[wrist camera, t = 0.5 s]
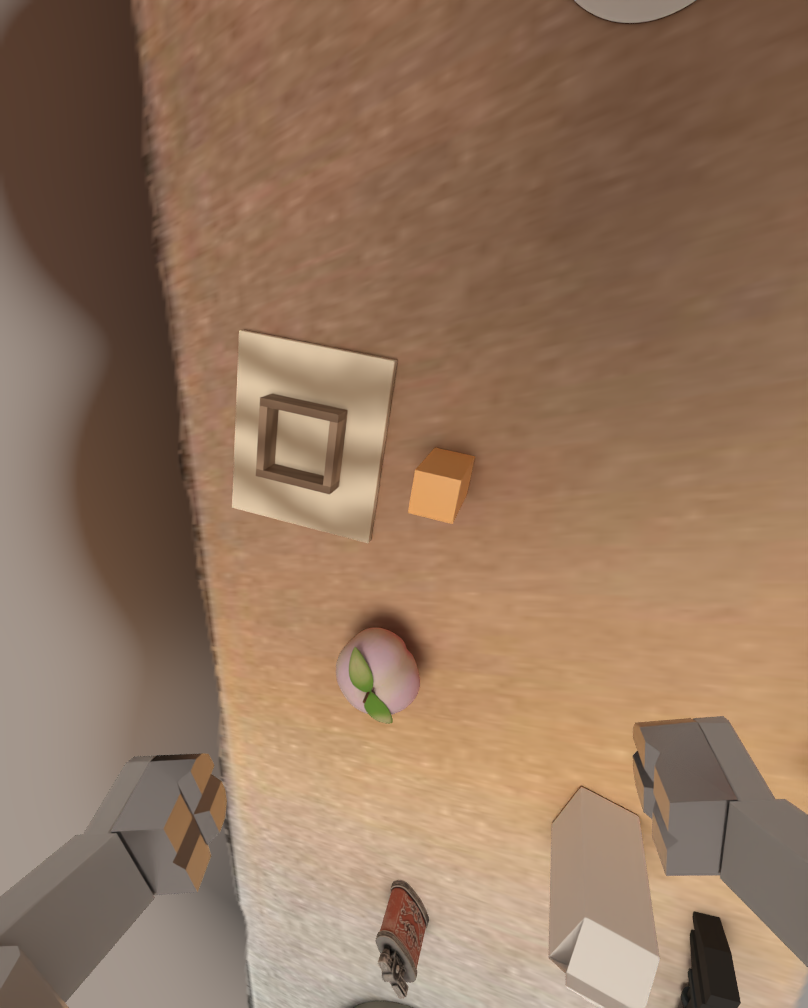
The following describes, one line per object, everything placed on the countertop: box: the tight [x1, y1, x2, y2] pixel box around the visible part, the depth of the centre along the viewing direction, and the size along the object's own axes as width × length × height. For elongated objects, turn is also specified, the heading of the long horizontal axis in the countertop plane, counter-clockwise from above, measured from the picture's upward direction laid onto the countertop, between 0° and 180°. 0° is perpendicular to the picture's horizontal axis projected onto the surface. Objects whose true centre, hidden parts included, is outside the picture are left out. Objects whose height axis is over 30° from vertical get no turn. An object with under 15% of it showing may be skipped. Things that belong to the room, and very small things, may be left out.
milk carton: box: [549, 787, 660, 1008], centre depth 56 cm, size 7×7×19 cm
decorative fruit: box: [336, 627, 420, 724], centre depth 59 cm, size 9×8×10 cm
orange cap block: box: [408, 447, 475, 524], centre depth 51 cm, size 4×4×8 cm
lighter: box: [376, 880, 429, 999], centre depth 73 cm, size 8×3×10 cm, turn 28°
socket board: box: [232, 330, 397, 543], centre depth 56 cm, size 19×16×4 cm
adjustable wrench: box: [681, 912, 741, 1008], centre depth 67 cm, size 8×3×25 cm
